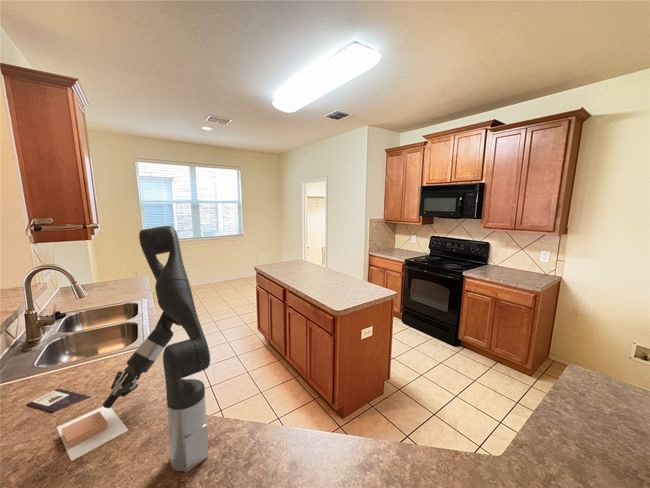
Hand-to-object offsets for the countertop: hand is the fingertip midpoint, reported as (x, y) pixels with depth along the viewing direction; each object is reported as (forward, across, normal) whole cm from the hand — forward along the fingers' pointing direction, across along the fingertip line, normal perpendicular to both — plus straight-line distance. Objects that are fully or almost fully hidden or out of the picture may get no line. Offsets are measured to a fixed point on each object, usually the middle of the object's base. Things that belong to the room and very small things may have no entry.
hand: (105, 407), depth 84 cm
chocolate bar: (+9, -28, 0) cm, 30 cm away
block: (+3, 0, +2) cm, 4 cm away
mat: (+7, 0, +2) cm, 7 cm away
